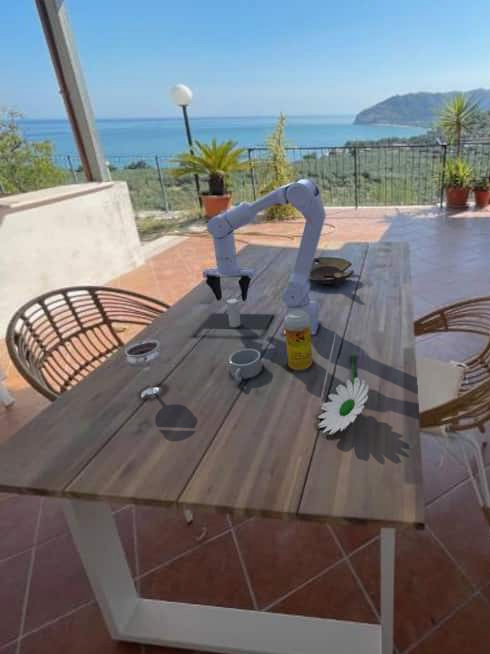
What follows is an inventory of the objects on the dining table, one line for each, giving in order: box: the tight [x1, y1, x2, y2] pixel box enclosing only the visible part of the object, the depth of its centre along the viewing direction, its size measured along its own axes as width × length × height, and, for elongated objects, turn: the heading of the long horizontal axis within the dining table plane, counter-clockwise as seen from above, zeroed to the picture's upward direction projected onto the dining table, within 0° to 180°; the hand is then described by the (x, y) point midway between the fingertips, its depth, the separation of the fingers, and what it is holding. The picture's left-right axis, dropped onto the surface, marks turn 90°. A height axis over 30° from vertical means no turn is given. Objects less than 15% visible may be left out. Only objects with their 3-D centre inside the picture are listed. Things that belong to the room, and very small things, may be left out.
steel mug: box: [228, 348, 263, 386], centre depth 95 cm, size 10×7×4 cm
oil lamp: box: [310, 256, 355, 286], centre depth 151 cm, size 22×30×8 cm
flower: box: [317, 355, 370, 436], centre depth 88 cm, size 13×6×30 cm
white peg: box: [226, 298, 241, 327], centre depth 117 cm, size 3×3×8 cm
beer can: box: [283, 308, 313, 371], centre depth 97 cm, size 6×6×15 cm
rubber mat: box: [192, 313, 274, 338], centre depth 119 cm, size 20×14×1 cm
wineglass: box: [124, 339, 162, 399], centre depth 87 cm, size 7×7×12 cm
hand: (232, 299), depth 116 cm, fingers open, 7 cm apart
